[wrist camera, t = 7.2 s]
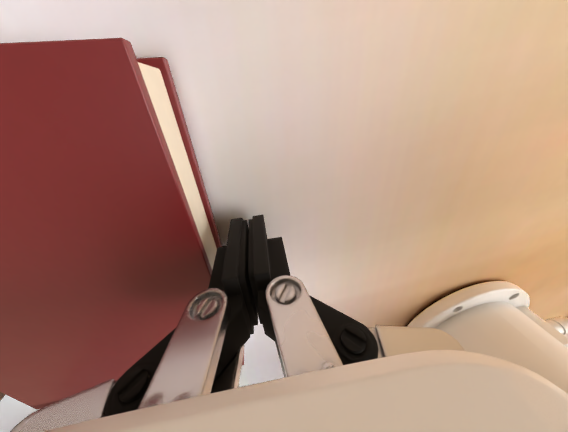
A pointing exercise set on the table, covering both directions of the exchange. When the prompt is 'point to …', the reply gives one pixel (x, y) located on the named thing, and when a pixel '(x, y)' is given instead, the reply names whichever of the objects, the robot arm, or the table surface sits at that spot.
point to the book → (93, 214)
